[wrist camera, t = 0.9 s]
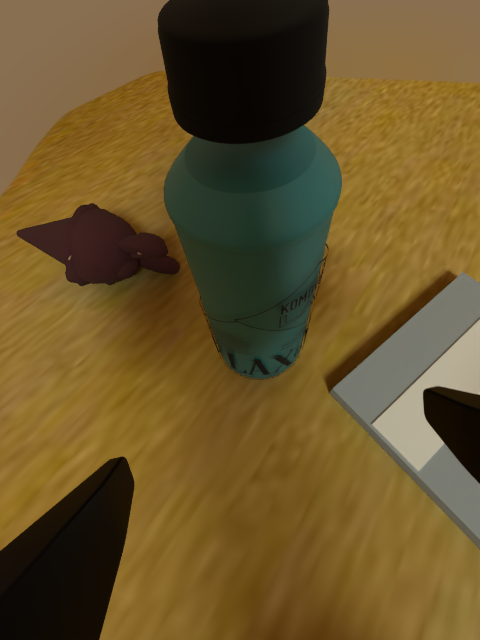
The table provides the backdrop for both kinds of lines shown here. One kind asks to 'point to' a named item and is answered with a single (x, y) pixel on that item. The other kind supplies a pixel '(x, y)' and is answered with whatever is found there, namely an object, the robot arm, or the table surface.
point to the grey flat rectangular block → (407, 396)
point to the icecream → (99, 247)
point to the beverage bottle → (250, 168)
